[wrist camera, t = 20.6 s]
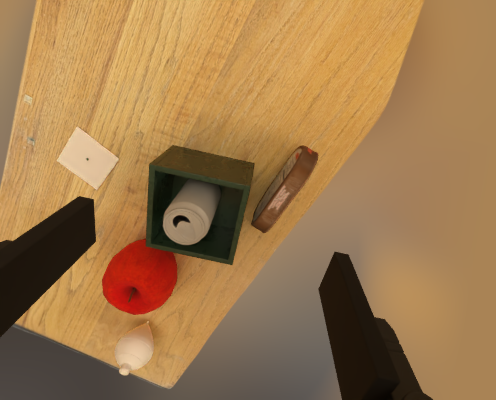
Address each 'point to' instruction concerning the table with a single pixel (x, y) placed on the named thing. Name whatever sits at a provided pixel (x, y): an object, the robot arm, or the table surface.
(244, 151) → the table surface
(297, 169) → the tin
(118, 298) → the apple
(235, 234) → the waste bin
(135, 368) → the spinning top
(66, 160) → the coaster
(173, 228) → the beverage can
